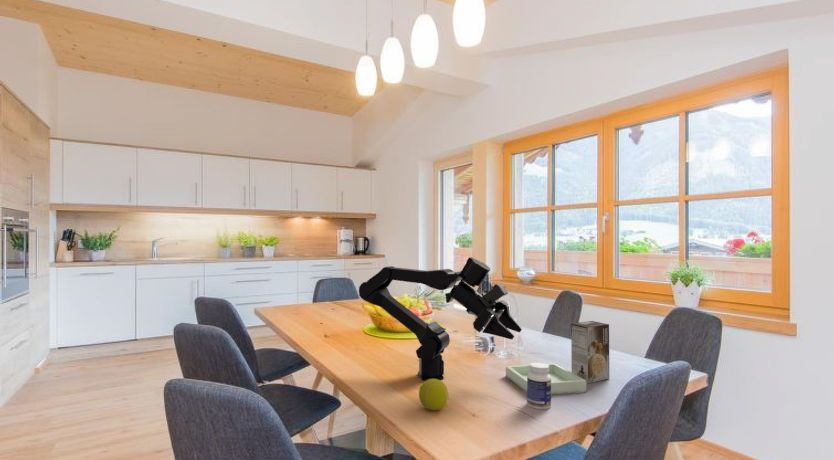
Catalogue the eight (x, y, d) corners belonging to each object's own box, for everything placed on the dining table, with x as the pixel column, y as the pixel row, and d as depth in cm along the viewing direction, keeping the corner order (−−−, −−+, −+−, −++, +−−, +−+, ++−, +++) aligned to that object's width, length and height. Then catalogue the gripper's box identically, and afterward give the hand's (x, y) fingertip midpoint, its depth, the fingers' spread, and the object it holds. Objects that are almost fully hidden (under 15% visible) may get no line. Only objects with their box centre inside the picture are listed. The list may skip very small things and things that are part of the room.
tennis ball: (452, 413, 101) (452, 383, 101) (423, 416, 99) (424, 385, 99) (442, 402, 108) (442, 373, 108) (415, 404, 106) (415, 376, 106)
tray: (531, 396, 112) (531, 384, 112) (505, 376, 128) (505, 366, 128) (586, 392, 115) (586, 380, 115) (554, 373, 131) (554, 363, 131)
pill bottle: (552, 411, 102) (552, 369, 103) (527, 409, 104) (527, 367, 104) (549, 402, 108) (549, 362, 108) (526, 400, 109) (526, 360, 109)
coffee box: (592, 372, 132) (592, 320, 132) (610, 379, 126) (610, 324, 126) (570, 377, 127) (570, 322, 128) (588, 383, 122) (588, 327, 122)
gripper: (475, 279, 112) (526, 316, 106) (495, 273, 128) (539, 305, 123) (453, 313, 114) (502, 351, 108) (475, 303, 131) (518, 336, 125)
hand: (517, 334), depth 116 cm, fingers open, 9 cm apart
